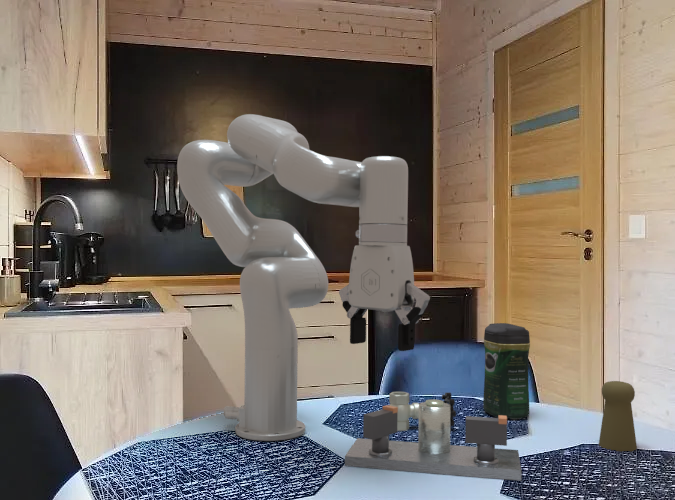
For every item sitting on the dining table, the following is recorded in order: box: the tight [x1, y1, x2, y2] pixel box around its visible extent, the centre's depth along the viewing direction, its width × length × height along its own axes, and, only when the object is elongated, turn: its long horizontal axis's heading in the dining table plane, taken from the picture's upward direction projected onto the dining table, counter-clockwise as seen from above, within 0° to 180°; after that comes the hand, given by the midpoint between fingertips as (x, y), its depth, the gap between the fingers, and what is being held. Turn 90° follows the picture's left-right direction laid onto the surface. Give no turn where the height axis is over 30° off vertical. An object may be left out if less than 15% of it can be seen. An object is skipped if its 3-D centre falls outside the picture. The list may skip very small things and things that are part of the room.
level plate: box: [344, 398, 522, 482], centre depth 102 cm, size 26×10×9 cm, turn 77°
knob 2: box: [464, 415, 508, 462], centre depth 98 cm, size 6×3×6 cm, turn 77°
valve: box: [388, 391, 457, 432], centre depth 123 cm, size 7×7×12 cm
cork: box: [598, 380, 638, 452], centre depth 112 cm, size 6×6×11 cm
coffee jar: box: [482, 322, 531, 420], centre depth 133 cm, size 10×8×19 cm
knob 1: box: [362, 404, 398, 453], centre depth 102 cm, size 6×3×6 cm, turn 138°
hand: (381, 346), depth 102 cm, fingers open, 9 cm apart
